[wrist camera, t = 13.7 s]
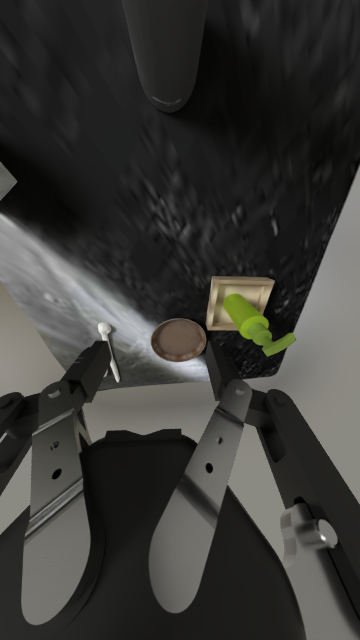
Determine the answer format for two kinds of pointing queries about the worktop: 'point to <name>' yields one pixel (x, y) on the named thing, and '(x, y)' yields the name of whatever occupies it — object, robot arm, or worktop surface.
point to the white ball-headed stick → (104, 330)
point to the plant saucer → (178, 340)
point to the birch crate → (247, 287)
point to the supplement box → (5, 181)
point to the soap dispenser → (254, 324)
